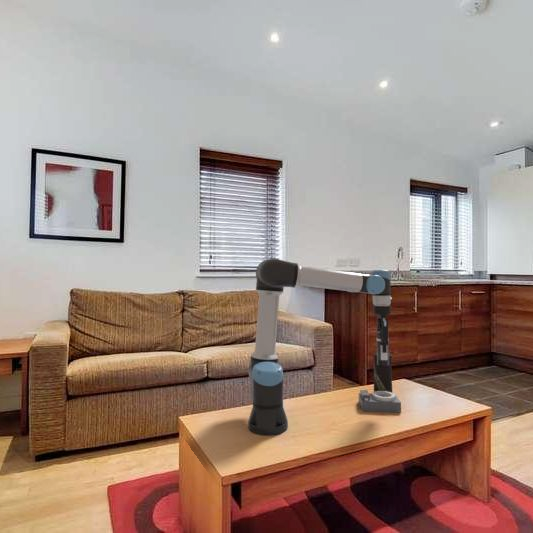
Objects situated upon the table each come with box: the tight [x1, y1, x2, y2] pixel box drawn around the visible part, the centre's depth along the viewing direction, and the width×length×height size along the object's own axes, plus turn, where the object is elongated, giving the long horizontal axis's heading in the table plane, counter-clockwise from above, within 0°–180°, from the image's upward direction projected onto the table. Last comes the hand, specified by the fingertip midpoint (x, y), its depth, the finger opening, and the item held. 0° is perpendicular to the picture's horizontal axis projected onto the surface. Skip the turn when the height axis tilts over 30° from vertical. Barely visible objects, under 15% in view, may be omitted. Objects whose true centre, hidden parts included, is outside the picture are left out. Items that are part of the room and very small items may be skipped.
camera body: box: [358, 389, 402, 413], centre depth 164 cm, size 16×11×6 cm
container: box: [372, 352, 393, 393], centre depth 180 cm, size 9×9×20 cm
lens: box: [375, 331, 390, 366], centre depth 164 cm, size 5×5×14 cm
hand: (382, 358), depth 164 cm, fingers closed on lens, 5 cm apart
